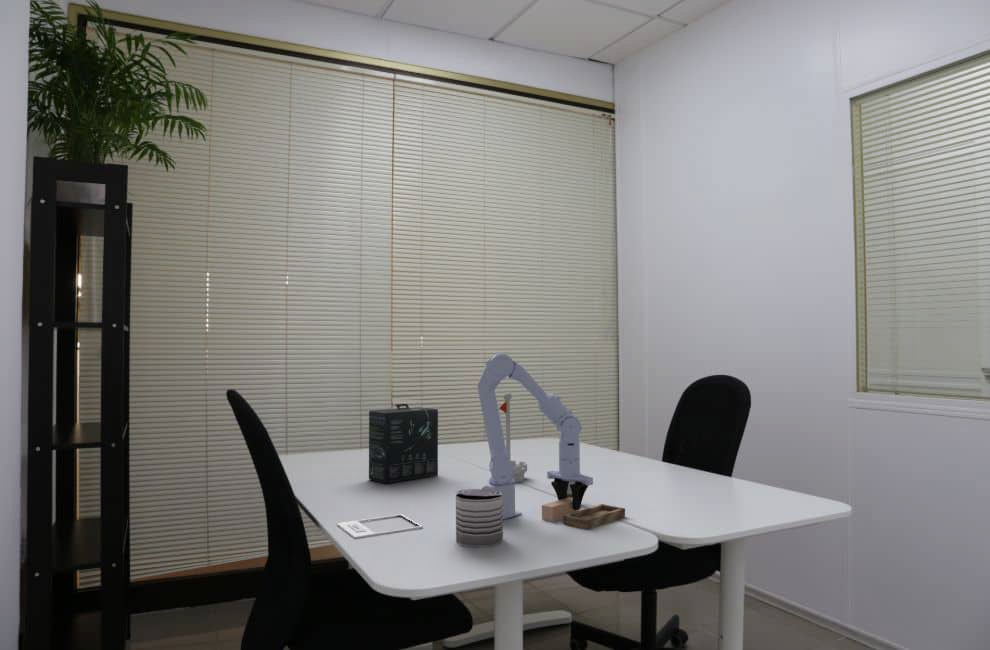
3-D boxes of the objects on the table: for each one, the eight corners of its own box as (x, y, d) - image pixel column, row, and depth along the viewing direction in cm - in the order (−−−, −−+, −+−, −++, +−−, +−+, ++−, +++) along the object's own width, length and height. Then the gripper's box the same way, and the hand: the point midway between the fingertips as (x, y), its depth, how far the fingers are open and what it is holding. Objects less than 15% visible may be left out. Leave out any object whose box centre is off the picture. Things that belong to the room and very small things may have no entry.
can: (445, 541, 163) (445, 490, 163) (480, 531, 171) (480, 483, 171) (478, 551, 154) (478, 497, 155) (513, 540, 162) (512, 489, 163)
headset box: (419, 471, 252) (419, 401, 253) (439, 475, 243) (439, 403, 244) (367, 479, 237) (366, 405, 238) (386, 484, 228) (386, 407, 229)
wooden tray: (586, 529, 171) (586, 520, 171) (563, 524, 177) (563, 515, 177) (625, 516, 183) (624, 508, 183) (602, 512, 189) (602, 504, 189)
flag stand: (503, 474, 245) (503, 390, 246) (534, 477, 238) (533, 391, 238) (482, 480, 235) (481, 392, 235) (513, 484, 227) (512, 394, 228)
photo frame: (336, 522, 178) (401, 513, 187) (336, 526, 178) (401, 517, 187) (354, 536, 165) (423, 525, 174) (354, 540, 165) (423, 529, 174)
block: (552, 522, 179) (552, 507, 179) (541, 520, 182) (541, 505, 182) (579, 513, 188) (578, 499, 188) (568, 511, 190) (568, 497, 191)
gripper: (599, 459, 186) (600, 509, 185) (558, 453, 196) (558, 501, 196) (583, 462, 181) (584, 514, 180) (542, 456, 191) (542, 505, 191)
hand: (569, 508), depth 188 cm, fingers open, 4 cm apart
